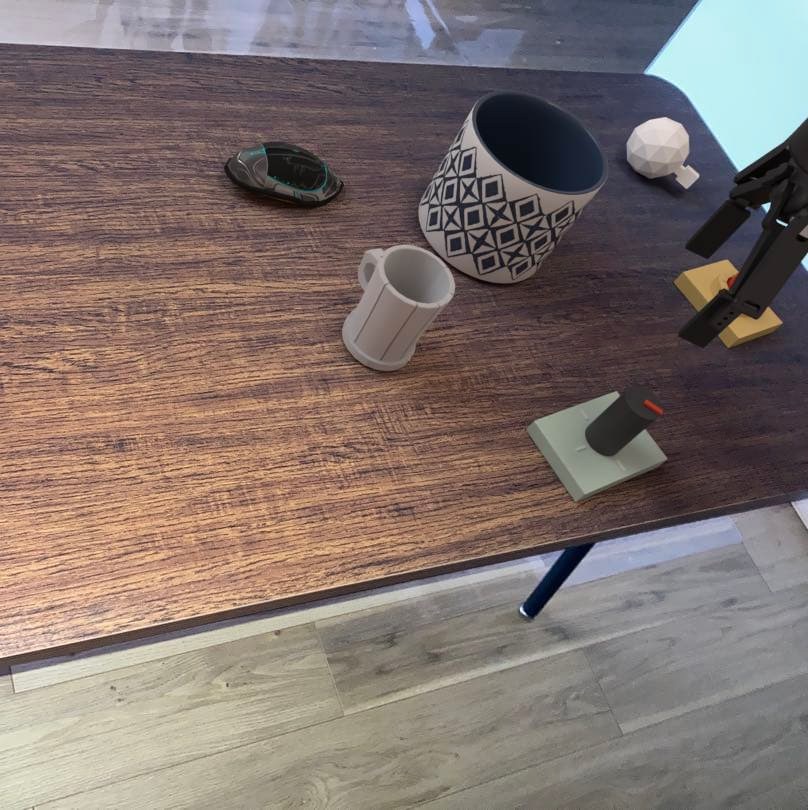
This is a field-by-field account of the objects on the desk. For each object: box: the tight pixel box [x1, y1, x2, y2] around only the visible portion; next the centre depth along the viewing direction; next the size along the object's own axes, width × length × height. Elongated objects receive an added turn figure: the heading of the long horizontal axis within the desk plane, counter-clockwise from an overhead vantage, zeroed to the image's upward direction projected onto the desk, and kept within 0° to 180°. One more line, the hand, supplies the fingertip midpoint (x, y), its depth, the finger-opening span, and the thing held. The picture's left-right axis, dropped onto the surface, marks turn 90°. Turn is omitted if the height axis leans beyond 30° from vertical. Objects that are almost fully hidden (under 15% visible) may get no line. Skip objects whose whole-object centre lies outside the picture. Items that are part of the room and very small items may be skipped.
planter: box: [417, 89, 609, 284], centre depth 115 cm, size 18×18×16 cm
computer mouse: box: [223, 141, 345, 209], centre depth 114 cm, size 9×17×6 cm, turn 103°
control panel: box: [525, 390, 668, 503], centre depth 105 cm, size 14×10×2 cm
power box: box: [673, 259, 784, 349], centre depth 126 cm, size 12×10×4 cm
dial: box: [585, 385, 664, 456], centre depth 101 cm, size 4×4×8 cm
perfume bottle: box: [626, 116, 700, 190], centre depth 138 cm, size 9×9×12 cm
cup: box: [341, 244, 456, 372], centre depth 101 cm, size 10×9×12 cm
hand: (693, 294), depth 92 cm, fingers open, 13 cm apart
